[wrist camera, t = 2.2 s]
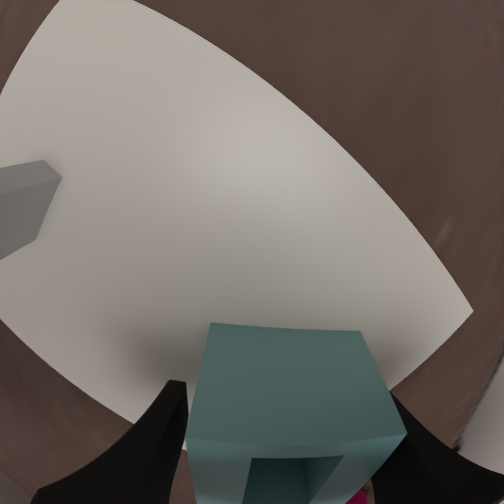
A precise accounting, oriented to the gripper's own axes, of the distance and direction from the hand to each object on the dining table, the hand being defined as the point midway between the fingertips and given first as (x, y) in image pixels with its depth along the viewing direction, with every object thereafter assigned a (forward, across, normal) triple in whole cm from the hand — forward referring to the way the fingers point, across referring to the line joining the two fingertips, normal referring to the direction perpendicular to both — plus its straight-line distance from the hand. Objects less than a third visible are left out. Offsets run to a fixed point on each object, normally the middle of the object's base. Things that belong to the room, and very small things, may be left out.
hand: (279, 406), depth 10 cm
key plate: (+3, +5, -3) cm, 7 cm away
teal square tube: (+1, 0, 0) cm, 1 cm away
